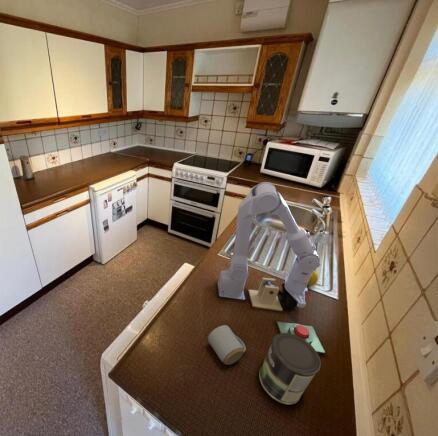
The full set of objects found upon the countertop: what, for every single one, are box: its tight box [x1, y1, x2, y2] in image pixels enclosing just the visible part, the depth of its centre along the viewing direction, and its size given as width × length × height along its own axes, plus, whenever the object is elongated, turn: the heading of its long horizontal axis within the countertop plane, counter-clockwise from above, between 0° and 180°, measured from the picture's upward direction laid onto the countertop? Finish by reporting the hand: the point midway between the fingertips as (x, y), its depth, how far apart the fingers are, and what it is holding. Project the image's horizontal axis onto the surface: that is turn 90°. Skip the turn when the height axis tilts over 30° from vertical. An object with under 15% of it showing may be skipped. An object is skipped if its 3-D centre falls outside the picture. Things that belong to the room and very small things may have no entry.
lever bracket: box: [248, 277, 283, 312], centre depth 87 cm, size 10×8×9 cm
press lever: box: [263, 281, 287, 303], centre depth 86 cm, size 12×3×3 cm
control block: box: [275, 320, 326, 355], centre depth 75 cm, size 11×9×3 cm
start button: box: [295, 324, 309, 339], centre depth 74 cm, size 4×4×2 cm
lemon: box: [306, 269, 319, 287], centre depth 95 cm, size 6×6×8 cm
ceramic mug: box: [207, 324, 247, 366], centre depth 70 cm, size 11×8×8 cm
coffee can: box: [258, 332, 322, 405], centre depth 61 cm, size 10×10×14 cm
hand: (287, 305), depth 88 cm, fingers closed on press lever, 3 cm apart
